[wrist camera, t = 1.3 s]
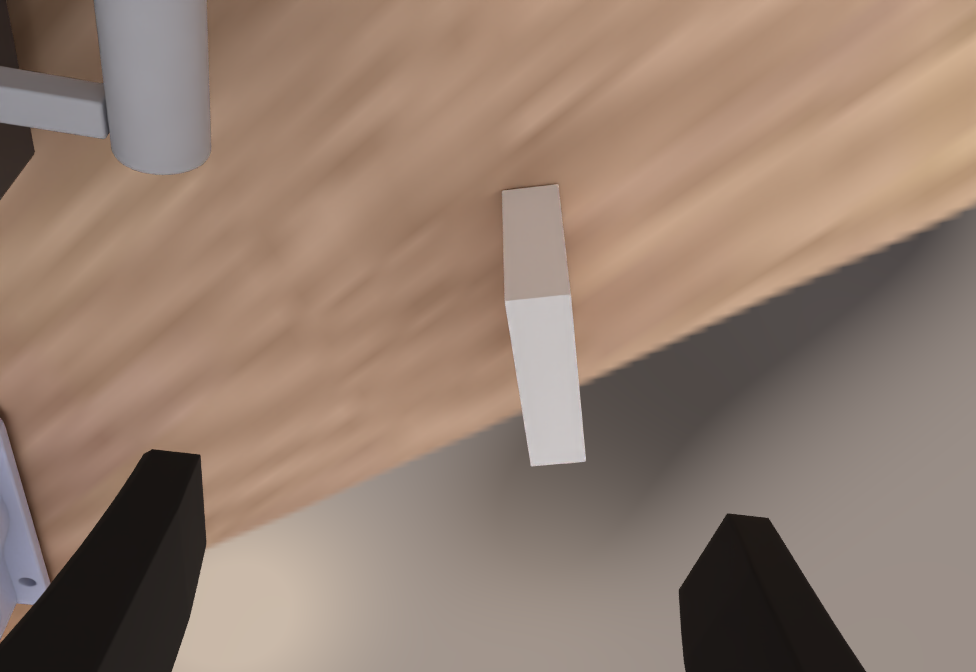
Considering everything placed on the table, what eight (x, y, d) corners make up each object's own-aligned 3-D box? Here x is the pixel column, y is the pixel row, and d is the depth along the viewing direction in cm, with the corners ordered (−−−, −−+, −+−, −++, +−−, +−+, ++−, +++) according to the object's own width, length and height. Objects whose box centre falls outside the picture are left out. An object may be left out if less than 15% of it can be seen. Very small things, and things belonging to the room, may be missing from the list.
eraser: (559, 183, 18) (571, 295, 15) (574, 346, 21) (586, 462, 19) (501, 189, 18) (502, 301, 16) (524, 351, 22) (530, 467, 19)
